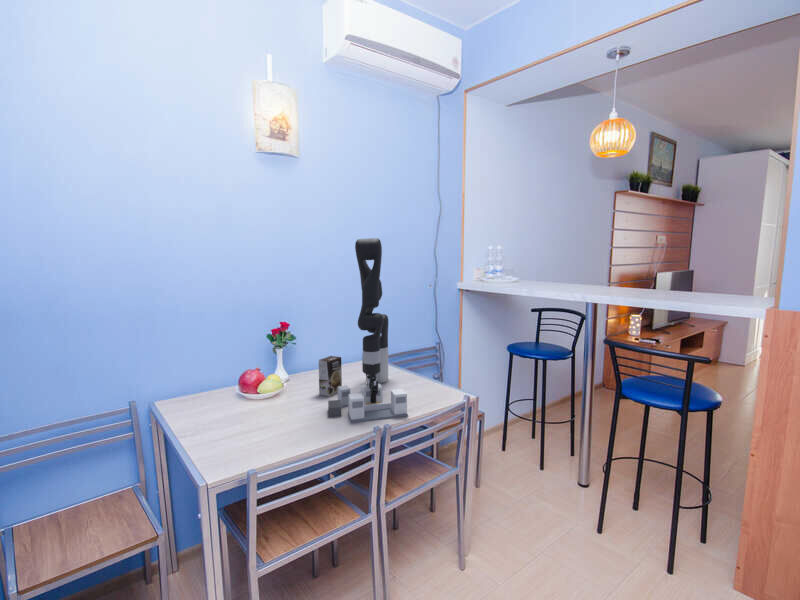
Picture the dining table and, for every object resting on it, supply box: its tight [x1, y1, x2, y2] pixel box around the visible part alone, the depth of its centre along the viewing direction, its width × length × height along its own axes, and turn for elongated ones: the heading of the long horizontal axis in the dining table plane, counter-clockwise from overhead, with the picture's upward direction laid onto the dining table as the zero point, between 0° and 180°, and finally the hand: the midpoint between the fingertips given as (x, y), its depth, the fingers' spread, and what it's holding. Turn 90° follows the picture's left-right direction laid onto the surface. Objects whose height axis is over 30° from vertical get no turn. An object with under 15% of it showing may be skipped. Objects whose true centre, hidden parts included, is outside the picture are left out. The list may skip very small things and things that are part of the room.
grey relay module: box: [337, 384, 351, 407], centre depth 175 cm, size 5×4×7 cm
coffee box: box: [318, 355, 343, 397], centre depth 188 cm, size 9×6×16 cm
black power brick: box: [327, 399, 342, 418], centre depth 166 cm, size 8×5×4 cm, turn 10°
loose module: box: [360, 383, 384, 405], centre depth 174 cm, size 5×8×8 cm, turn 105°
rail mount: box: [347, 388, 409, 424], centre depth 163 cm, size 9×22×9 cm, turn 105°
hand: (372, 400), depth 174 cm, fingers closed on loose module, 5 cm apart
